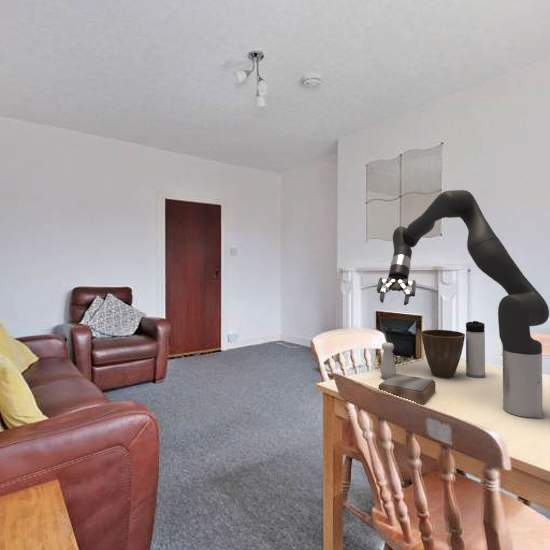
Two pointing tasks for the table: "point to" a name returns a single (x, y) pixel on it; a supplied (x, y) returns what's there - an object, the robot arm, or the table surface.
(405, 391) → the plinth
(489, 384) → the table surface
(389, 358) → the salt shaker
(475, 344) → the travel mug
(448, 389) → the table surface
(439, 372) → the plant pot
